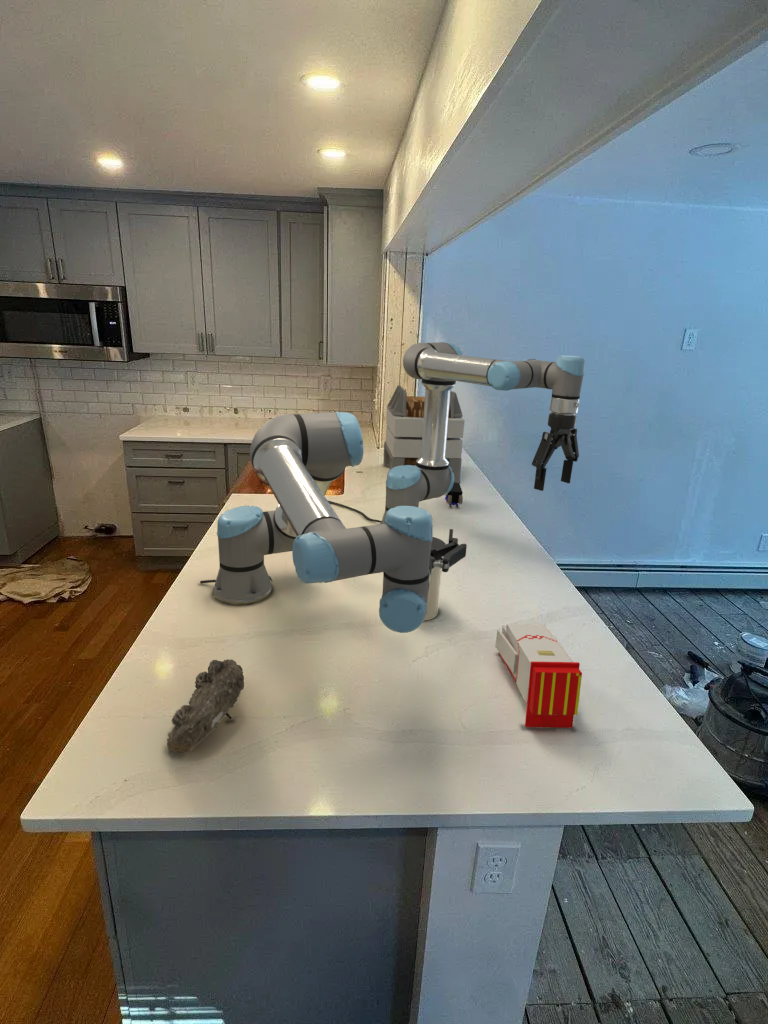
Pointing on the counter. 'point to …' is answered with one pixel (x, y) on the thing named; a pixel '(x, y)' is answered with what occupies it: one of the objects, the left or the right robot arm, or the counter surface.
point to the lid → (437, 543)
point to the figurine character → (454, 495)
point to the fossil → (206, 705)
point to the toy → (541, 674)
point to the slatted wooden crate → (419, 431)
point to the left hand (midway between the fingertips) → (419, 532)
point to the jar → (433, 594)
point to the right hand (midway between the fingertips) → (552, 485)
